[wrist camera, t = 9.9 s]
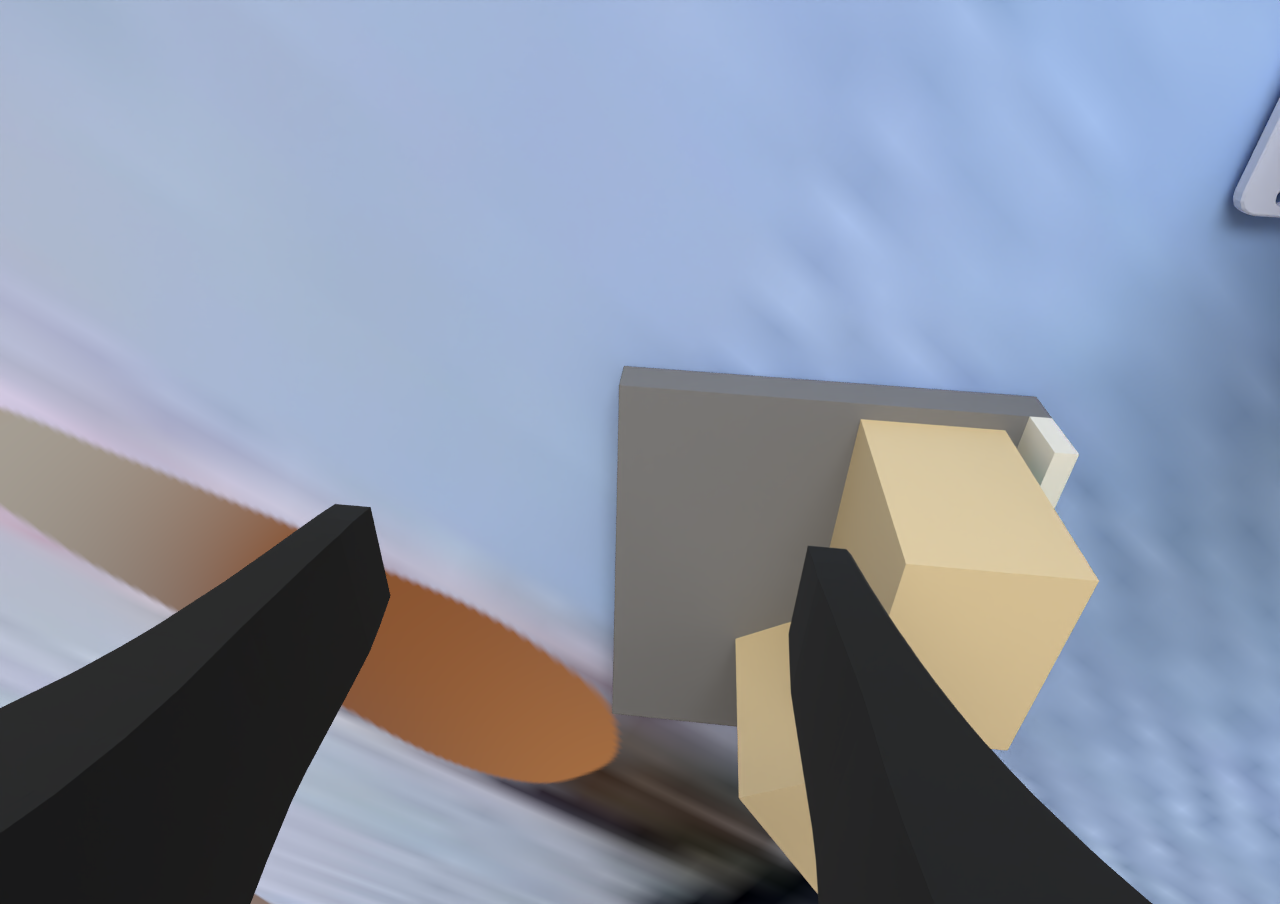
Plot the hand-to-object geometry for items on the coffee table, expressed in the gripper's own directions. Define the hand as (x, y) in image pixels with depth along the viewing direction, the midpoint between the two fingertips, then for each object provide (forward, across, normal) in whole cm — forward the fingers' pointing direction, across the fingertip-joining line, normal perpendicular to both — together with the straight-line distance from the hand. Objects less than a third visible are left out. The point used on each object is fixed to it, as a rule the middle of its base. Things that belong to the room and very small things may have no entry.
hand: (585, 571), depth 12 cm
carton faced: (+9, -8, +5) cm, 13 cm away
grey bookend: (+10, -6, +9) cm, 15 cm away
